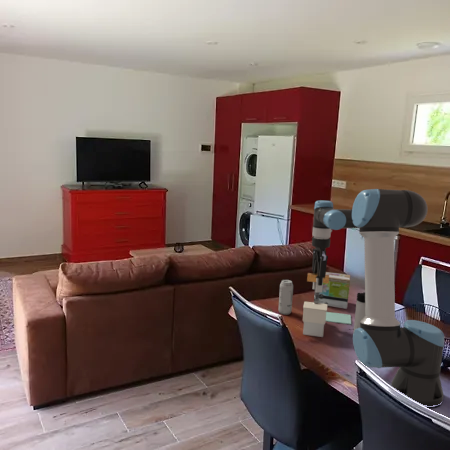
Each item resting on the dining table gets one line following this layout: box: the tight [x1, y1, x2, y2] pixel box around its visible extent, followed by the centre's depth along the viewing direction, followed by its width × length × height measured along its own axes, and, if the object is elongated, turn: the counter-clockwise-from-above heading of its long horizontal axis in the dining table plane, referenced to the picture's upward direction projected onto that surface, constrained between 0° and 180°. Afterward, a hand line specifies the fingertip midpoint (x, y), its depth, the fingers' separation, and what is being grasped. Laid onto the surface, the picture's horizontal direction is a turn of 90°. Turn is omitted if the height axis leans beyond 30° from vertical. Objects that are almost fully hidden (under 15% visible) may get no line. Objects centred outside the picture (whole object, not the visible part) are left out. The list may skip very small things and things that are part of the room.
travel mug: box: [352, 291, 365, 335], centre depth 179 cm, size 6×7×20 cm
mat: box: [326, 311, 352, 325], centre depth 202 cm, size 11×11×1 cm
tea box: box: [319, 271, 351, 310], centre depth 220 cm, size 15×10×15 cm, turn 73°
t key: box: [306, 272, 329, 303], centre depth 190 cm, size 10×9×16 cm
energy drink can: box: [278, 279, 294, 316], centre depth 206 cm, size 6×6×15 cm
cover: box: [302, 301, 328, 325], centre depth 184 cm, size 7×9×6 cm
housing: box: [302, 321, 325, 338], centre depth 190 cm, size 16×8×6 cm, turn 166°
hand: (317, 290), depth 193 cm, fingers closed on t key, 3 cm apart
